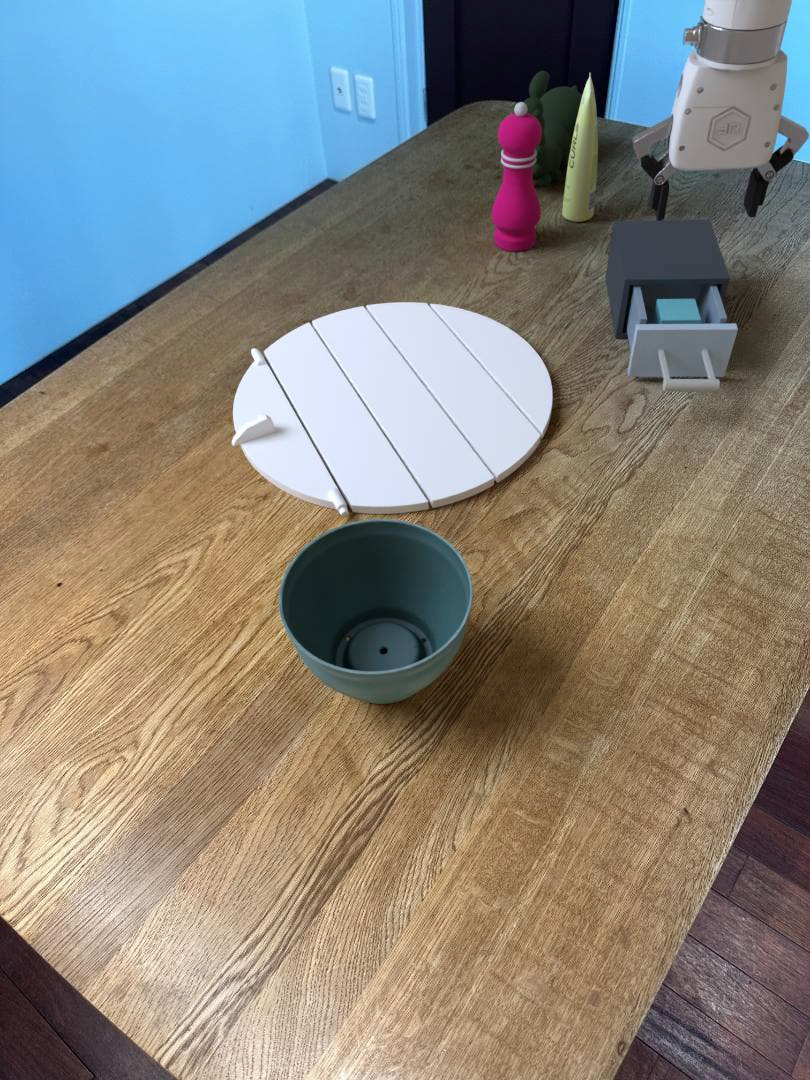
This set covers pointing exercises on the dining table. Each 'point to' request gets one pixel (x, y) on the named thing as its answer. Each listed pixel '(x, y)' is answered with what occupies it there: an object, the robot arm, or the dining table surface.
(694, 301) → the teal cube
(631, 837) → the dining table surface
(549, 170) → the toy figurine
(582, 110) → the tube
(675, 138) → the robot arm
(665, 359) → the drawer
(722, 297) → the dark grey cabinet
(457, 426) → the lazy susan
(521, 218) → the pepper mill
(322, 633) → the flower pot
